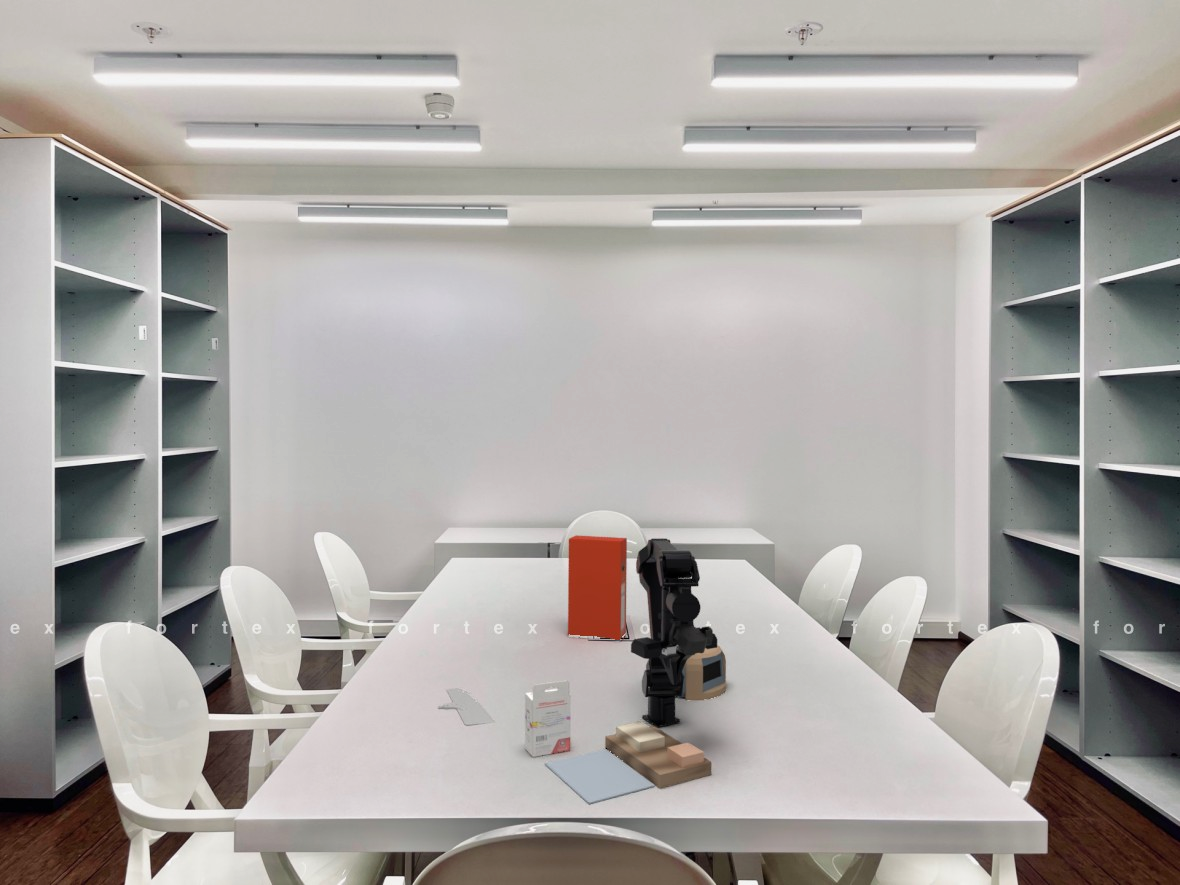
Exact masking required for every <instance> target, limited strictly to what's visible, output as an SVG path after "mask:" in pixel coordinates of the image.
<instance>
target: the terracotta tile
mask: <svg viewBox="0 0 1180 885" xmlns="http://www.w3.org/2000/svg"><path fill="white" fill-rule="evenodd" d="M704 757H705V752H704V751H703V750H701V749H700V748H698V747H696V746H694V745H693V744H691V743H690V742H685V743H682V744H680V745H676V746H671V747H667V758H669V759H670V760H672V761H673V762H675V763H676V764H678V765H679V766H681V767H682V768H684V767H687V766H691V765H695V764H699V763H703V762H704Z"/></svg>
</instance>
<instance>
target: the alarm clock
mask: <svg viewBox="0 0 1180 885" xmlns="http://www.w3.org/2000/svg"><path fill="white" fill-rule="evenodd" d="M726 671H727V660H726V655H725V653H724V652H723V649H722V648H721V646H720V645H718V644H717V648H712V649H706V648H705V650H704V653H696V654H695V655H692V656H691V657H690V658H688V659H687V661H686V663H685V665H684V668H683V670H682V673H683V675H684V676H685V679H684V683H683V693H682V695H681V696H677V697H676V698H681V697H685V698H684V699H685V701H687V700H694V701H705V700H704V699H707V700H712V699H711V698H713V699H715V698H714V697H716V698H718V697H721V696H722V695H724V694H725V692H724V691H726V690H725V689H726V688H727V687H726V686H727V685H726V683H727V682H726V679H727V672H726ZM723 693H724V694H723ZM721 694H722V695H721ZM717 696H718V697H717Z"/></svg>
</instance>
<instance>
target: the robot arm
mask: <svg viewBox="0 0 1180 885" xmlns="http://www.w3.org/2000/svg"><path fill="white" fill-rule="evenodd" d="M635 567H636V568H635V571H636V574H637V575H638V579H639V584H640V585H641V586H642V587H643V589H644V590H645V592H646V596H647V606H648V607H647V608H648V609H647V610H648V619H649V620H648V622H649V634H650V637H649V636H647V637H640V638H634V639H633V640H632V641H631V643H630V653H632V654H635V655H636V656H638V657H640V658H642V659H645V660H647V662H646V664H645V669H644V671H643V675H642V677H641V678H642V679H641V691H642V693H643V696H644V697H645V698H647V714H643V715H642V719H643V720H645V721H646V722H647V723H650V724H652V726H654V727H656V728H660V727H665V726H669V725H673V724H679V723H681V719H680V718H678V717H676V697H675V696H681V695H682V693H683V683H684V679H685V676H684V675H683V673H682V670H683V668H684V665H685V663H686V661H687V659H688V658H690V657H691V656H692V655H695V654H696V653H704V650H705V648H706V649H712V648H717V645H718V638H717V636H716V634H715V633H713V628H711V626H709V625H708V626H702V627H696V626H695V623H694V620H695V619H697V618H698V617H699V614H700V612H701V603H700V601H699V599H698V597H697V596H695V595H694V594H693V593H692V587H699V584H700V583H699V582H700V579H701V576H700V572H699V571H700V570H699V568H698V563H697V561H696V559H695V556H694V555H693V554H692V552H691V551H690V550H685V549H677V548H676V547H675V546H674V545H673V544H672V542H671V540H670V539H668V538H660V537H658V538H651V539H648V540H647V544H646V545H645V546H644V547H642V548H641V549H640V550H639V551H638V553H637V557H636V562H635Z"/></svg>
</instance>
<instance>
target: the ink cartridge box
mask: <svg viewBox="0 0 1180 885" xmlns="http://www.w3.org/2000/svg"><path fill="white" fill-rule="evenodd" d="M550 688H553V689H550ZM524 749H525V750H526V751H527V753H529V755H530V756H531V757H532V758H535V757H541V756H542V755H543V756H547V755H552V754H553V753H554V754H559V753H564V752H563V751H565V752H569V751H571V695H570V681H569V680H568V679H567V680H561V681H559V680H557V681H551V682H550V681H549V682H544V683H536V684H532V692H525V693H524ZM568 750H569V751H568ZM558 752H559V753H558ZM554 754H553V755H554Z"/></svg>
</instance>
